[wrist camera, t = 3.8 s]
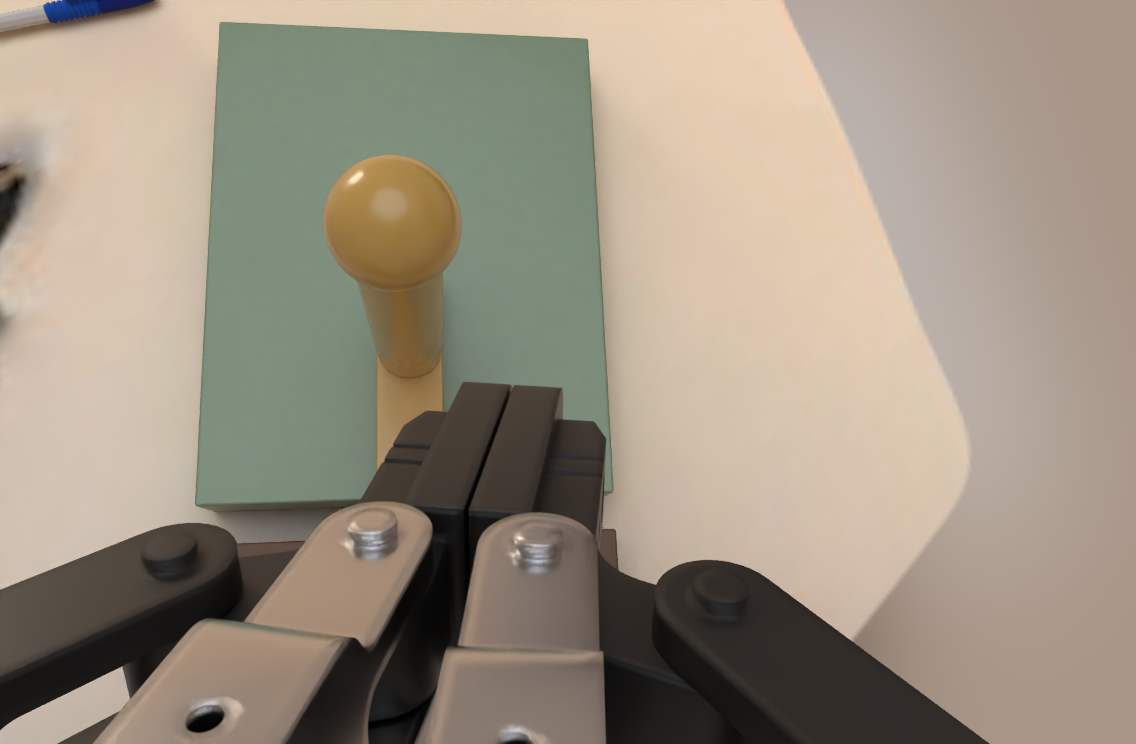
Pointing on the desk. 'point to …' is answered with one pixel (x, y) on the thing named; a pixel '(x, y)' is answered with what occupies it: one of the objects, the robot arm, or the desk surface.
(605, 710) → the robot arm
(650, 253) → the desk surface
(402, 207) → the yellow lever
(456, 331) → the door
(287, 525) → the desk surface
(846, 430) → the desk surface
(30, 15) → the ballpoint pen
